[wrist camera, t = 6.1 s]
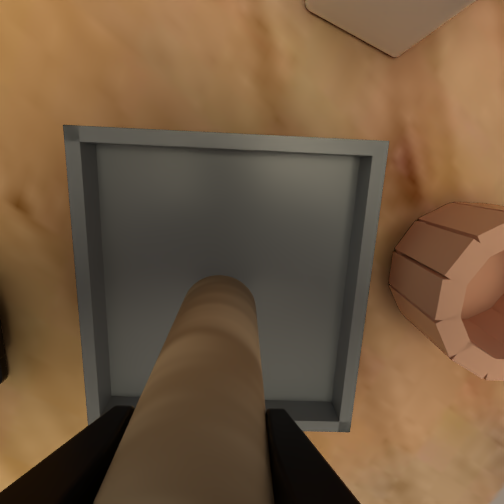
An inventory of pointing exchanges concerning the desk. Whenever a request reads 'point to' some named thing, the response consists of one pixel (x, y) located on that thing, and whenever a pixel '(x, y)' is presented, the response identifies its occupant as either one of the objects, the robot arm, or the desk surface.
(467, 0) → the jar
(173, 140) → the tray
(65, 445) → the robot arm
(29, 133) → the desk surface
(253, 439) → the dowel
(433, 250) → the cup
